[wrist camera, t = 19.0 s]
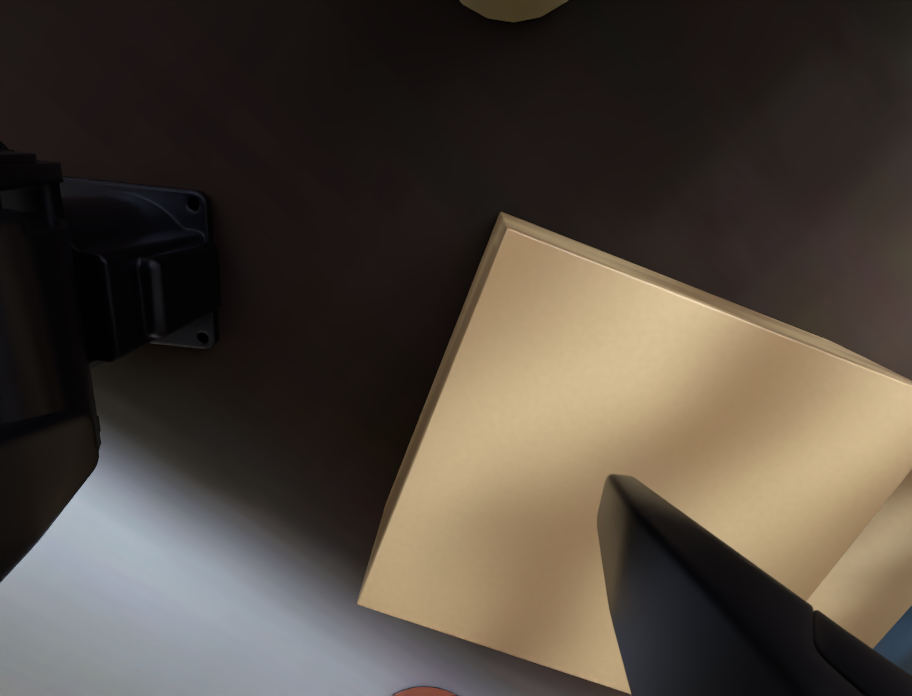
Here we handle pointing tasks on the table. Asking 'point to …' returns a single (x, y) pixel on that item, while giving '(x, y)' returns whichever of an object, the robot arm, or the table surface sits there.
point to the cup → (424, 692)
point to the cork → (512, 8)
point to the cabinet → (619, 447)
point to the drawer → (876, 582)
